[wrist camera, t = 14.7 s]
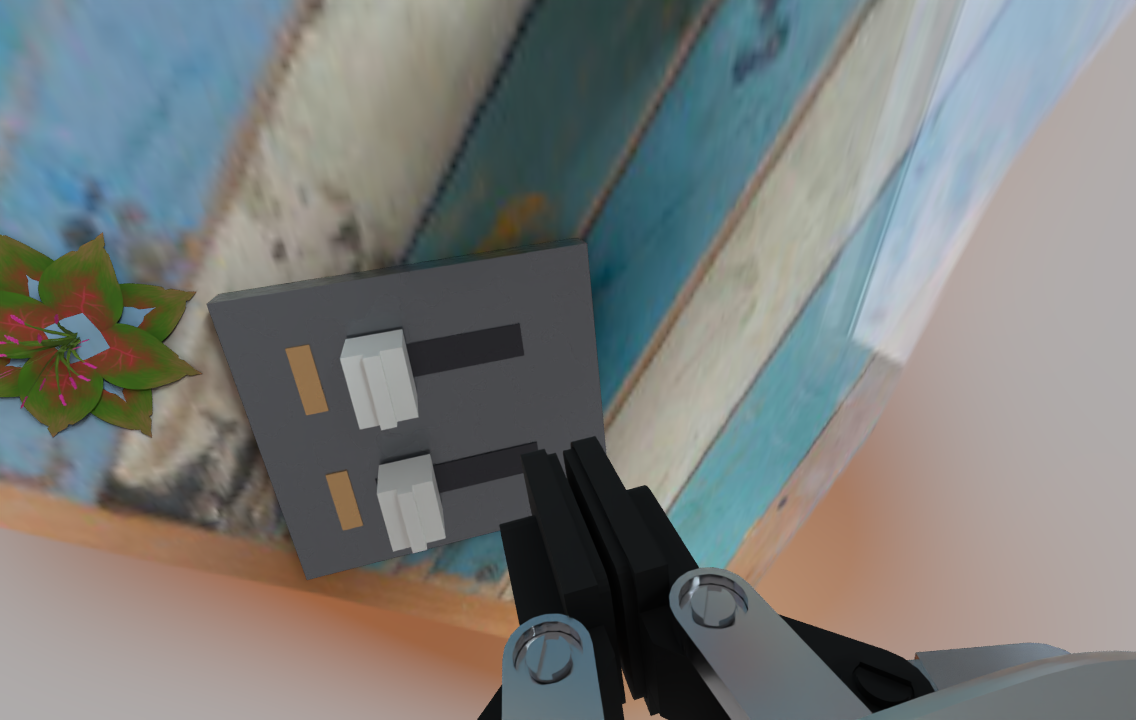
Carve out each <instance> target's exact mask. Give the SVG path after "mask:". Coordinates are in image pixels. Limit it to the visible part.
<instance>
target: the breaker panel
mask: <svg viewBox="0 0 1136 720" xmlns="http://www.w3.org/2000/svg"><path fill="white" fill-rule="evenodd" d="M207 307H208V309H209V312H210V315H211V318H212V320H213V323H214V326H215V329H216V331H217V334H218V337H219V340H220V342H221V345H222V348H223V351H224V353H225V356H226V359H227V362H228V364H229V367H230V370H231V373H232V375H233V378H234V381H235V384H236V386H237V389H238V392H239V395H240V397H241V400H242V403H243V406H244V408H245V411H246V414H247V417H248V419H249V422H250V425H251V428H252V430H253V433H254V436H255V439H256V441H257V444H258V447H259V450H260V452H261V455H262V458H263V461H264V463H265V466H266V469H267V472H268V474H269V477H270V480H271V483H272V485H273V488H274V491H275V494H276V496H277V499H278V502H279V505H280V507H281V510H282V513H283V516H284V518H285V521H286V524H287V527H288V529H289V532H290V535H291V538H292V540H293V543H294V546H295V549H296V551H297V554H298V557H299V560H300V562H301V565H302V568H303V571H304V573H305V576H306V579H307V580H309V579H313V578H317V577H321V576H325V575H329V574H333V573H336V572H340V571H344V570H348V569H352V568H356V567H360V566H364V565H367V564H371V563H375V562H379V561H383V560H387V559H391V558H395V557H399V556H402V555H406V554H410V553H413V552H412V549H411V547H409V548H405V549H402V550H398V551H394V552H393V550H392V546H391V543H390V539H389V535H388V532H387V528H386V525H385V521H384V518H383V514H382V511H381V507H380V503H379V500H378V496H377V484H378V471H379V465H383V464H387V463H392V462H396V461H401V460H405V459H410V458H414V457H418V456H423V455H427V454H430V456H431V460H432V465H433V469H434V473H435V478H436V482H437V486H438V491H439V495H440V499H441V504H442V508H443V517H444V526H445V536H446V538H445V539H441V540H437V541H433V542H429V543H427V549H430V548H433V547H437V546H441V545H445V544H449V543H453V542H457V541H461V540H465V539H468V538H472V537H476V536H480V535H484V534H488V533H492V532H496V531H499V530H500V527H499V524H502V523H506V522H510V521H514V520H517V519H521V518H525V517H528V516H532V514H531V509H530V504H529V499H528V494H527V489H526V484H525V479H524V474H523V469H522V464H521V459H520V455H521V454H525V453H529V452H533V451H537V450H541V449H545V450H546V453H547V455H548V454H552V453H556V454H557V456H558V459H559V461H560V464H561V466H562V468H563V471H564V473H565V476H566V470H565V464H564V458H563V451H564V450H568V449H571V442H573V441H577V440H581V439H585V438H589V437H593V436H596V438H597V439H598V441H599V443H600V444H601V446H602V448H603V450H604V452H605V453H606V446H605V435H604V424H603V413H602V402H601V391H600V380H599V369H598V358H597V347H596V336H595V326H594V315H593V304H592V293H591V282H590V271H589V260H588V249H587V243H586V242H584V241H582V240H580V239H579V238H572V239H566V240H560V241H553V242H547V243H541V244H534V245H528V246H522V247H515V248H509V249H503V250H496V251H490V252H483V253H477V254H471V255H464V256H458V257H452V258H445V259H439V260H433V261H426V262H420V263H414V264H407V265H401V266H394V267H388V268H382V269H375V270H369V271H363V272H356V273H350V274H344V275H337V276H331V277H325V278H318V279H312V280H305V281H299V282H293V283H286V284H280V285H274V286H267V287H261V288H255V289H248V290H242V291H236V292H229V293H223V294H218V295H217V296H215V297H214V298H213V299H212V300H211V301H210V302H208V303H207ZM400 329H402V330H403V335H404V339H405V343H406V348H407V352H408V356H409V361H410V365H411V369H412V374H413V378H414V382H415V387H416V391H417V399H418V417H417V418H413V419H408V420H403V421H398V422H397V427H394V428H390V429H385V430H381V428H380V425H379V426H375V427H370V428H365V429H360V428H359V425H358V421H357V418H356V414H355V411H354V407H353V404H352V400H351V396H350V393H349V389H348V386H347V382H346V379H345V375H344V371H343V368H342V364H341V361H340V357H341V353H342V350H343V346H344V343H345V339H350V338H356V337H361V336H367V335H372V334H378V333H384V332H389V331H395V330H400ZM566 478H567V476H566Z"/></svg>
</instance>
